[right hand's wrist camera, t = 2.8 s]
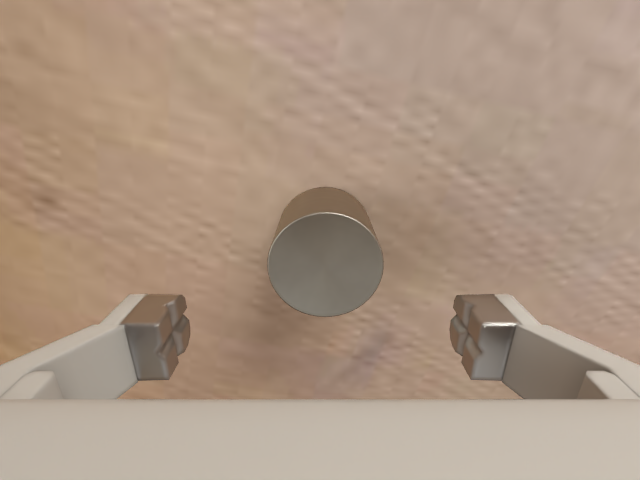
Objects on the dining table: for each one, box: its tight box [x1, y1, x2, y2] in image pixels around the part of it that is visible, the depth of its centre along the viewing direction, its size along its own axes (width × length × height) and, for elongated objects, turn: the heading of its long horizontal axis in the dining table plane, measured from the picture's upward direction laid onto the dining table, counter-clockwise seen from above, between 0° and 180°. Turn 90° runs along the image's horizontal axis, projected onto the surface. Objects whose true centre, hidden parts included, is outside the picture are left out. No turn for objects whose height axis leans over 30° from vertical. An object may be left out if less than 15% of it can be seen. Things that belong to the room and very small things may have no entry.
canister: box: [267, 187, 384, 317], centre depth 16 cm, size 5×5×4 cm
